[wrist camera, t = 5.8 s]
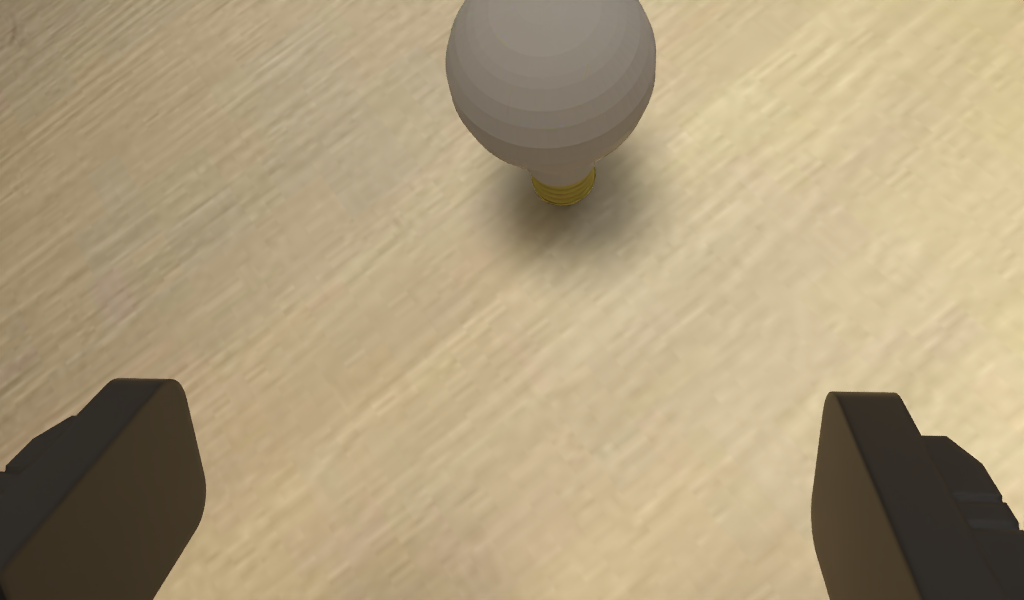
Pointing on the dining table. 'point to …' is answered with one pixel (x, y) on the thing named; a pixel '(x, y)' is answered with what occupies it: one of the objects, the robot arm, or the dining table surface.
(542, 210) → the dining table surface
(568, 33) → the light bulb
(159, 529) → the robot arm
